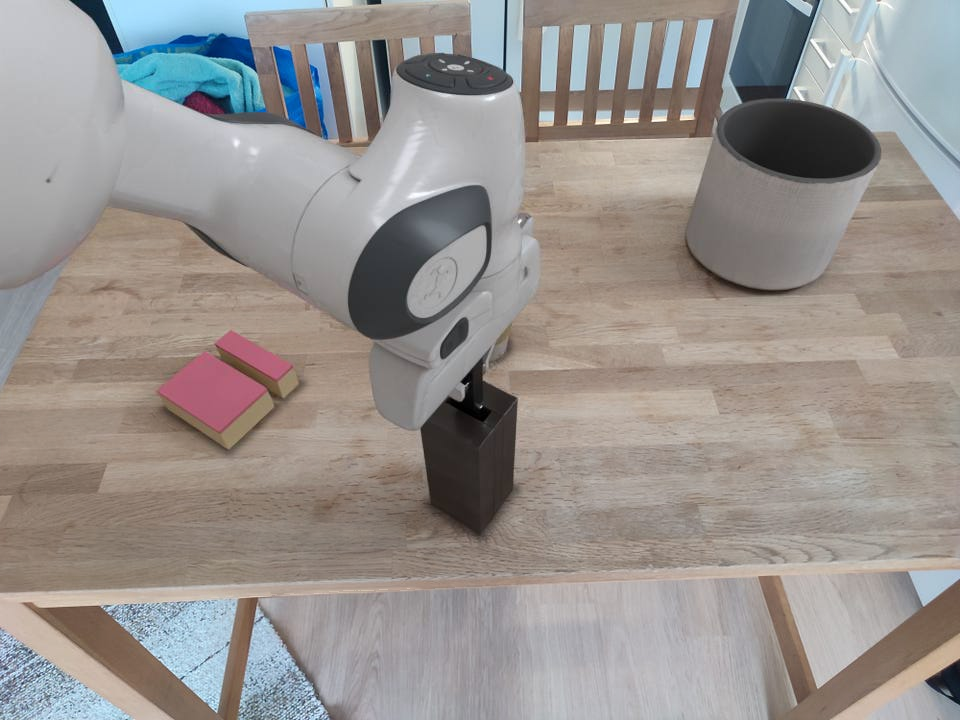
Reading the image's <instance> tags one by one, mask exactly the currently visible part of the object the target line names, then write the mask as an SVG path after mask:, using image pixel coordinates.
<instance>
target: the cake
mask: <svg viewBox="0 0 960 720" xmlns="http://www.w3.org/2000/svg"><path fill="white" fill-rule="evenodd" d="M155 392H156V393H157V395H158V396H159V398H160V400H161V401H162V403H163V405H164V407H166V409H167V410H168V411H170V413H172V414H174V415H176V416H177V417H179V418H180V419H181V420H183V421H185V422H186V423H187V424H189V425H191V426H192V427H194V428H195V429H197V430H198V431H199V432H201V433H202V434H204V435H205V436H207V437H208V438H210V439H211V440H213V441H214V442H216V443H218V444H219V445H220V446H222V447H224V448H225V449H226V450H231V449H232V448H233V447H234V446H235V445H236V444H237V443H238V442H239V441H240V440H242V438H243V437H245V435H246V434H247V433H249V432H250V431H251V430H252V429H253V428H254V427H255V426H256V425H257V424H258V423H259V422H260V421H262V419H264V417H266V416H267V415H268V414H269V413H270V412H271V411H272V410H274V408H275V404H274V401H273V399H272V396H271V394H270V392H269V390H268V389H267V388H266V387H264V386H262V385H261V384H259V383H257V382H256V381H254V380H252V379H251V378H249V377H247V376H246V375H244V374H242V373H241V372H239V371H237V370H236V369H234V368H232V367H231V366H229V365H227V364H226V363H224V362H223V361H222V359H219V358H217V357H215V356H214V355H212V354H211V353H209V352H207V351H206V350H204V351H203V352H201V353H200V354H199V355H198V356H197V357H195V358H194V359H193V360H192V361H190V362H189V363H188V364H187V365H185V366H184V367H183V368H182V369H181V370H180V371H178V372H177V373H176V374H175V375H173V376H172V377H170V378H169V379H168V380H167V381H166V382H165V383H163V384H162V385H161V386H159V388H157V389H156V391H155Z"/></svg>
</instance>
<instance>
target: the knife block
mask: <svg viewBox="0 0 960 720" xmlns="http://www.w3.org/2000/svg"><path fill="white" fill-rule="evenodd" d="M518 402H519V398H518V397H517V396H514V395H513V394H510V393H508V392H507V391H505V390H502V389H501V388H498V387H497V386H494V385H493V384H492V383H489V382H487V381H485V380H483V401H482V402H481V403H480V405H482V413H483V422H481V421H479V420H477V419H475V418H474V417H472V416H470V415H468V414H466V413H464V412H462V411H460V410H459V409H457V408H455V401H454V399H453V398H451V397H449V396H448V397H447V398H446V399H445V400H444V401H443V402H442V404H441V405H440V406H439V407H438V408H437V409H436V411H435V412H434V413H433V414H432V415H431V416H430V417H429V419H428V420H427V421H426V422H425V423H424V425H423V426H422V427H421V428H420V429H419V430H420V436H421V437H420V438H421V445H422V451H423V452H422V453H423V458H424V465H425V473H426V480H427V487H428V495H429V503H430V506H431V507H433V508H434V509H436V510H437V511H438V512H440V513H442V514H444V515H446V516H447V517H448V518H450V519H452V520H454V521H455V522H457V523H459V524H460V525H462V526H463V527H465V528H467V529H468V530H470V531H471V532H473V533H475V534H476V535H478V536H483V533H484V532H485V531H486V529H487V528H488V526H489V525H490V524H491V523H492V521H493V520H494V518H495V516H496V515H497V513H498V512H499V511H500V509H501V508H502V507H503V505H505V502H506V501H507V499H508V498H509V497H510V495H511V494H512V492H513V491H514V478H515V477H514V476H515V475H514V474H515V458H516V439H517V421H518Z"/></svg>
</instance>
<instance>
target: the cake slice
mask: <svg viewBox="0 0 960 720" xmlns="http://www.w3.org/2000/svg"><path fill="white" fill-rule="evenodd" d="M213 344H214V346H215V347H216V350H217V352H218V354H219V356H220V360H221V361H222V362H224V363H226V364H227V365H229V366H231V367H232V368H234V369H236V370H237V371H239V372H241V373H242V374H244V375H246V376H247V377H249V378H251V379H252V380H254V381H256V382H257V383H259V384H261V385H262V386H264V387H266V388H267V390H268V391H270V392H272V393H273V394H275V395H277V396H278V397H280V398H281V399H285V398H286V397H287V396H288V395H289V394H290V393H291V392H292V391H293V390H294V389H296V388H297V387H298V386H299V385H300V382H299V379H298V377H297V374H296V370H295V368H294V366H293V364H292V363H290V362H288V361H287V360H285V359H283V358H282V357H279V356H277V355H276V354H274V353H272V352H271V351H269V350H267V349H266V348H264V347H262V346H260V345H258V344H257V343H255V342H253V341H251V340H249V339H248V338H246V337H244V336H243V335H241V334H239V333H237V332H236V331H234V330H231V329H230V330H229V331H227V332H226V333H225V334H224V335H223V336H222V337H220V338H219V339H218V340H216V341H215V342H214V343H213Z"/></svg>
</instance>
